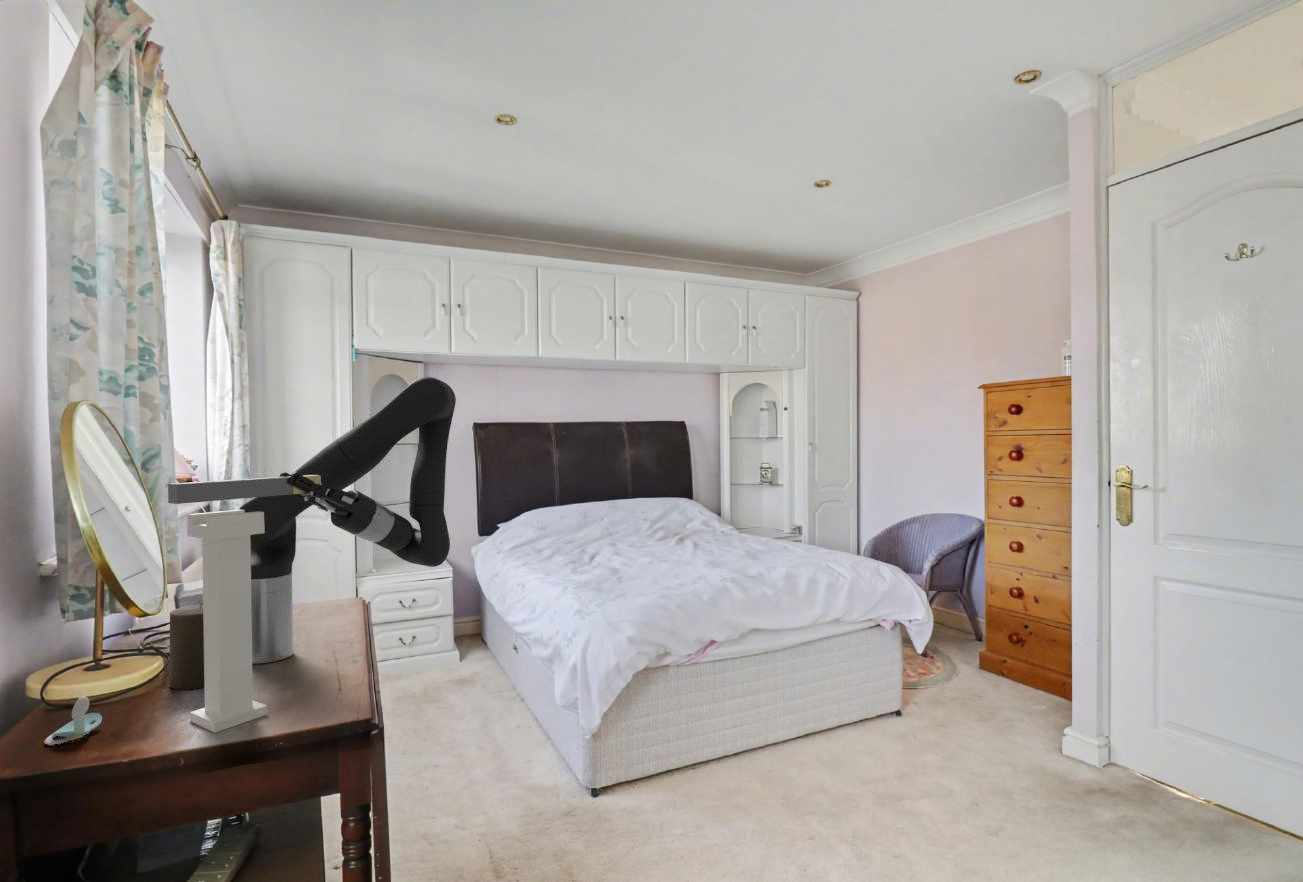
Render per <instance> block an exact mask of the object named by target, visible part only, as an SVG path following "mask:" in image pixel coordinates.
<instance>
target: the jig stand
mask: <svg viewBox="0 0 1303 882" xmlns="http://www.w3.org/2000/svg"><path fill="white" fill-rule="evenodd" d="M186 525H187V527H186V528H187V531H186V532H187V537H193V538H199V539H201V540H202V541H201V543H202V544H201V545H202V553H201V554H202V603H203V622H204V688H203V689H204V707H202V708H199V709H196V710H192V711H190V712H189V713H190V714H189V715H190V716H189V718H190V719H189V722H191V723H193V724H195V725H196V726H199V727H201V728H203V729H206V730H208V731H210V732H213V733H218V732H221V731H224V730H227V729H229V728H233V727H235V726H238V725H241V724H244V723H246V722H249V721H253V720H256V719H258V718H261V717H264V716H267V715H268V705H266V704H264V703H261V702H259V701H256V700H254V698H253V697H254V696H253V694H254V693H253V692H254V691H253V690H254V689H253V687H254V686H253V685H254V683H253V681H254V680H253V664H252V613H251V545H250V535H254V534H262V533H265V531H264V512H260V511H258V512H248V513H245V512H244V510H239V509H233V510H232V509H230V510H222V511H221V510H220V511H208V512H201V513H200V512H198V513H189V514H188V513H187V523H186Z"/></svg>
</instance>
